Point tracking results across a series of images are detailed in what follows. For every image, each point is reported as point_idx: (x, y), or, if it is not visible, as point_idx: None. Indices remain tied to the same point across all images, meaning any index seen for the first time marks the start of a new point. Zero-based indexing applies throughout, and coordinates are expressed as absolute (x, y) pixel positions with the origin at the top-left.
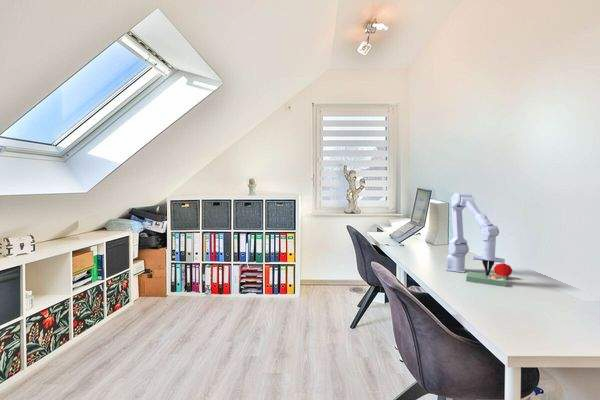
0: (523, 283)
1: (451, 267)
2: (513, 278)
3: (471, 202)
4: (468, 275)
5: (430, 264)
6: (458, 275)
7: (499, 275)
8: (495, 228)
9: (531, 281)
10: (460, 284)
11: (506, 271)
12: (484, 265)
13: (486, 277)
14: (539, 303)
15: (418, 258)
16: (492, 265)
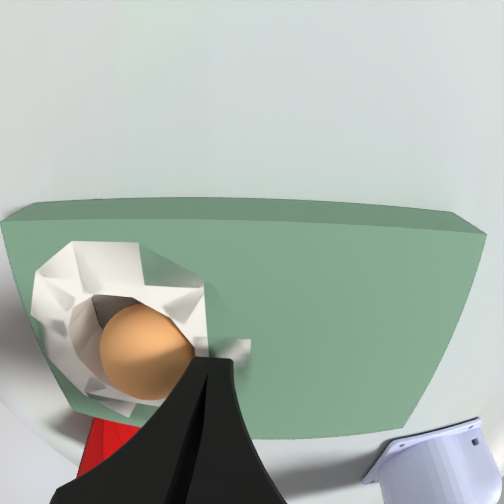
0: (7, 357)
1: (464, 445)
2: (84, 433)
3: None
4: (453, 295)
5: (496, 447)
6: (457, 370)
7: (121, 422)
8: None
9: (10, 399)
10: (497, 58)
11: (88, 464)
12: (261, 496)
13: (226, 315)
14: None
15: None
16: (79, 483)
